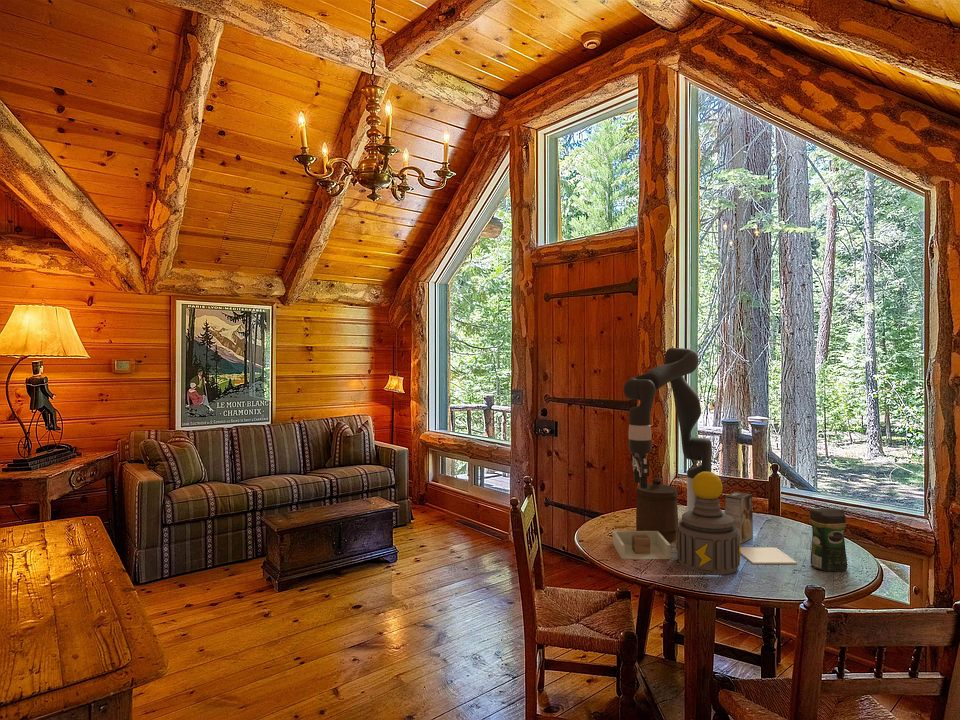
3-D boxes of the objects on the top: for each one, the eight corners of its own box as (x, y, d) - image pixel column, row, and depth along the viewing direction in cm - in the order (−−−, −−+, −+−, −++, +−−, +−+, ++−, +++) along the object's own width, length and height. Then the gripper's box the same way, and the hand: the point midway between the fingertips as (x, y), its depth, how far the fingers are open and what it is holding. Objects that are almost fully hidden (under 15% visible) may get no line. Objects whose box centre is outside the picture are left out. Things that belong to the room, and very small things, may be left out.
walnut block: (631, 548, 195) (631, 534, 195) (646, 548, 195) (646, 534, 195) (635, 554, 190) (635, 539, 190) (650, 554, 190) (650, 539, 190)
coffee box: (735, 533, 211) (735, 491, 211) (753, 537, 206) (753, 494, 206) (724, 539, 205) (724, 495, 205) (742, 543, 200) (741, 498, 200)
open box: (612, 544, 201) (612, 530, 201) (658, 544, 200) (658, 530, 200) (621, 560, 186) (621, 545, 186) (670, 560, 185) (670, 545, 185)
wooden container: (672, 531, 215) (672, 473, 215) (682, 544, 201) (682, 482, 201) (633, 530, 217) (632, 473, 217) (640, 543, 202) (639, 482, 202)
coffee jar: (834, 562, 181) (834, 505, 181) (852, 572, 173) (851, 511, 173) (805, 563, 181) (804, 505, 181) (821, 573, 173) (821, 512, 173)
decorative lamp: (737, 581, 168) (736, 480, 167) (671, 570, 177) (670, 474, 177) (742, 560, 184) (741, 468, 184) (682, 551, 193) (681, 464, 193)
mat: (734, 548, 195) (734, 547, 195) (776, 549, 194) (776, 547, 194) (752, 563, 181) (752, 562, 181) (797, 564, 180) (797, 562, 180)
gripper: (656, 440, 185) (657, 490, 185) (645, 434, 199) (646, 480, 199) (633, 441, 185) (634, 490, 185) (624, 434, 199) (624, 480, 199)
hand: (640, 485), depth 192 cm, fingers open, 8 cm apart
